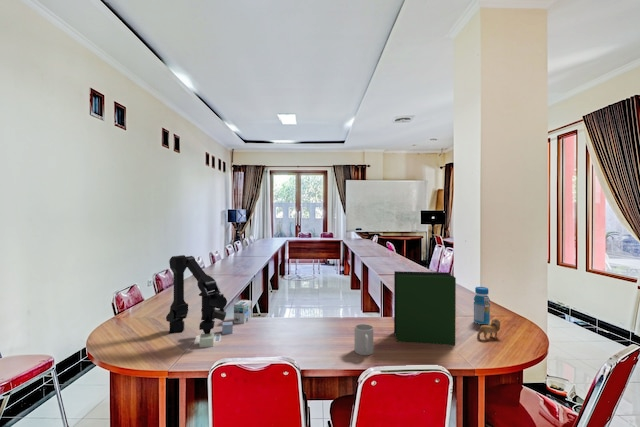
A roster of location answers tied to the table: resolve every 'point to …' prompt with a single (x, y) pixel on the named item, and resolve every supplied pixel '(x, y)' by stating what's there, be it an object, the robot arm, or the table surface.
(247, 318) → the light bulb box
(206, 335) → the sage block
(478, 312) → the beverage bottle
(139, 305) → the table surface
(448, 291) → the binder
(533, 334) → the table surface
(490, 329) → the lion figurine
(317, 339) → the table surface
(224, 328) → the slate-blue cube
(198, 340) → the letter
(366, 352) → the mug
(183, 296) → the robot arm
